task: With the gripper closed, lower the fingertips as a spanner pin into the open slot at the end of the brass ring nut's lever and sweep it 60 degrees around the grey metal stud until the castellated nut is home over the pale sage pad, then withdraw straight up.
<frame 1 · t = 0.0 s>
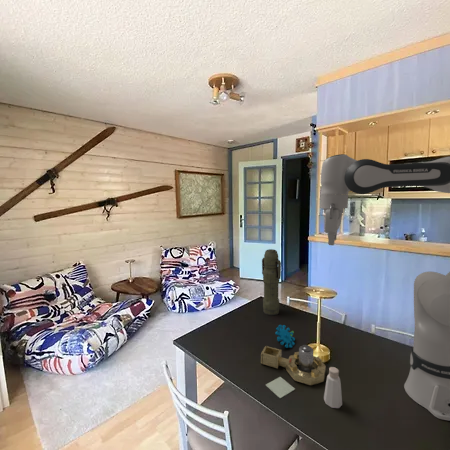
hand: (332, 242, 90), 48 cm above the table, fingers open, 8 cm apart
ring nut: (292, 362, 96), point 2 cm above the table, hinge at 0.0°
thermos: (270, 311, 143), on the table
gear: (285, 344, 112), on the table
stud: (305, 372, 94), on the table
salt shaker: (332, 402, 80), on the table
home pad: (280, 387, 87), on the table
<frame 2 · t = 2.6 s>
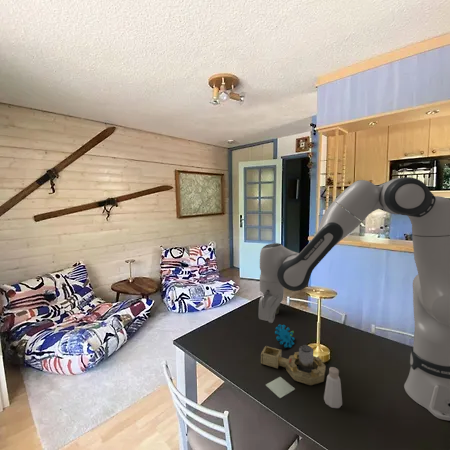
hand: (271, 321, 98), 17 cm above the table, fingers closed
nothing on the table moved.
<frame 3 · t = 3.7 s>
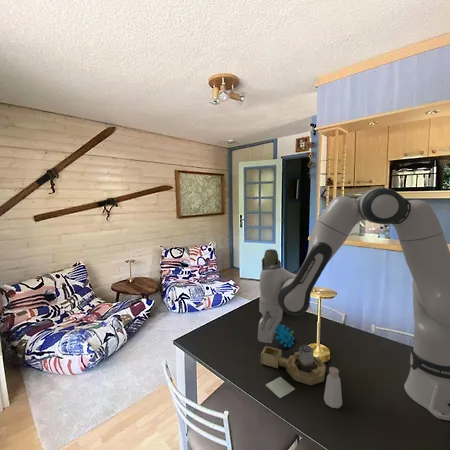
hand: (270, 341, 99), 9 cm above the table, fingers closed
nothing on the table moved.
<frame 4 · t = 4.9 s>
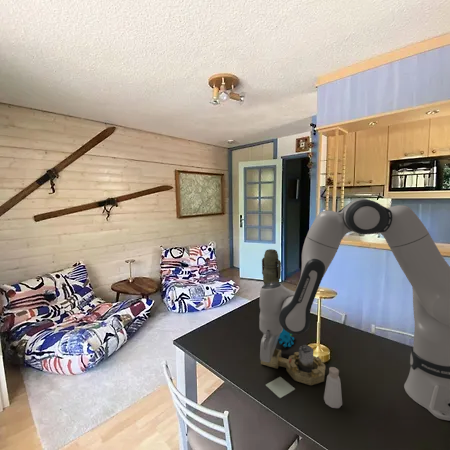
hand: (270, 358, 99), 2 cm above the table, fingers closed
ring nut: (292, 362, 96), point 2 cm above the table, hinge at 1.0°, touching gripper
everything else where it was.
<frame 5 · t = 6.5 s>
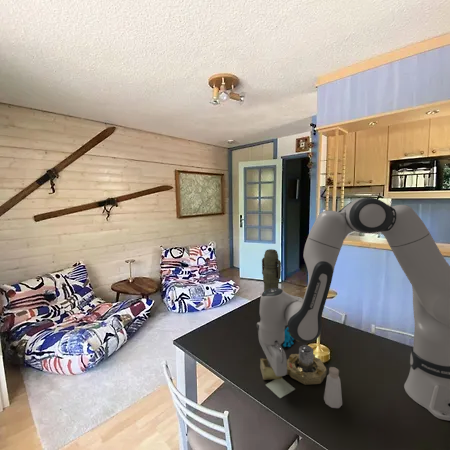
hand: (271, 369, 92), 2 cm above the table, fingers closed
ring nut: (292, 367, 93), point 2 cm above the table, hinge at 30.7°, touching gripper
everything else where it was.
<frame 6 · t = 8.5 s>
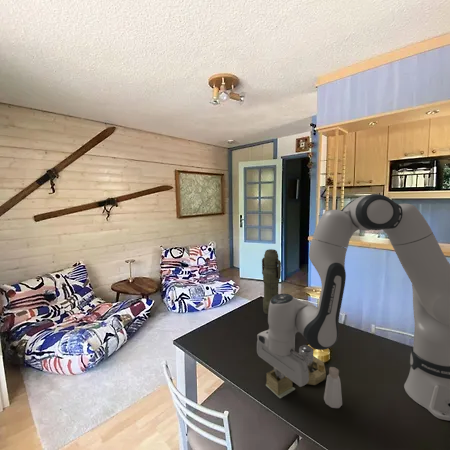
hand: (280, 381, 86), 2 cm above the table, fingers closed
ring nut: (296, 371, 91), point 2 cm above the table, hinge at 58.3°, touching gripper
everything else where it was.
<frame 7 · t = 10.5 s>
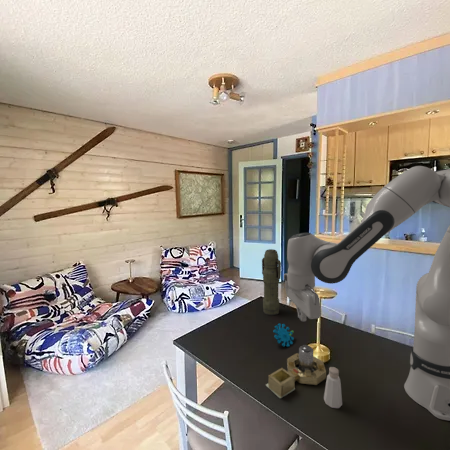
hand: (302, 319, 88), 22 cm above the table, fingers closed
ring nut: (297, 371, 91), point 2 cm above the table, hinge at 62.4°
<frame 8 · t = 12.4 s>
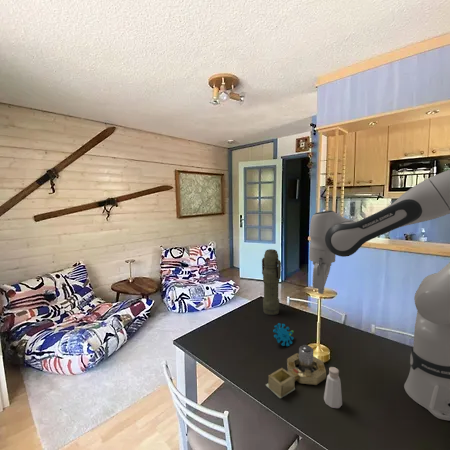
hand: (321, 292, 94), 29 cm above the table, fingers closed
at the end: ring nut at +62° (first picture: +0°) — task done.
